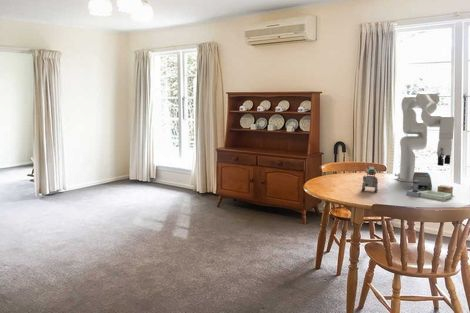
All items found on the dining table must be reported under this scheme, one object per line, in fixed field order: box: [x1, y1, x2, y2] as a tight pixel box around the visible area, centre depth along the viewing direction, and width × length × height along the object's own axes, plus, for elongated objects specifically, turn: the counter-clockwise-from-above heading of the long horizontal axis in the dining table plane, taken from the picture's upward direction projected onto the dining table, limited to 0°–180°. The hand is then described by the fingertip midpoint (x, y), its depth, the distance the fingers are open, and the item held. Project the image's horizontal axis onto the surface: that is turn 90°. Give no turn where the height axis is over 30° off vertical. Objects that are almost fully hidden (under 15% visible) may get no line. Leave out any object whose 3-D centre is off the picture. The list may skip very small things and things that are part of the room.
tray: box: [418, 190, 453, 202], centre depth 247 cm, size 14×11×2 cm
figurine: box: [361, 165, 379, 193], centre depth 263 cm, size 9×12×15 cm
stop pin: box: [411, 180, 419, 192], centre depth 252 cm, size 4×4×9 cm
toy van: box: [411, 171, 433, 191], centre depth 267 cm, size 11×25×10 cm, turn 159°
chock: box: [437, 184, 454, 195], centre depth 255 cm, size 7×4×5 cm, turn 40°
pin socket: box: [406, 188, 423, 198], centre depth 252 cm, size 7×7×2 cm
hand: (443, 164), depth 252 cm, fingers open, 9 cm apart
